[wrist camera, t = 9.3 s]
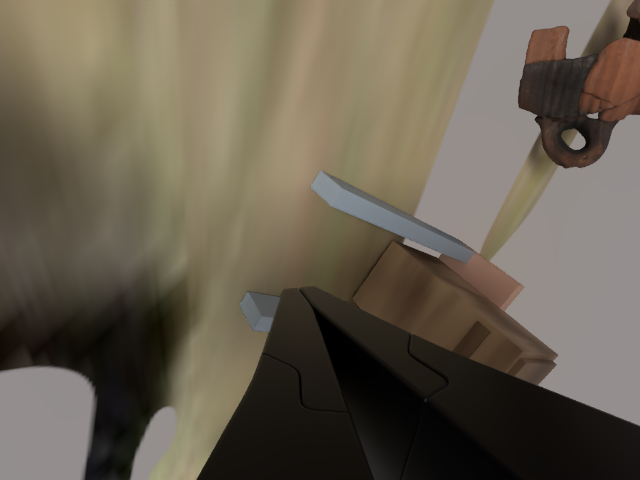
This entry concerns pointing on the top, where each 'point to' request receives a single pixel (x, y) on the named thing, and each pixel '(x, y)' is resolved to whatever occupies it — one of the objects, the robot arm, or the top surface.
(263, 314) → the blue-gray angular pronged part
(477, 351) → the crate
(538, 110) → the brown irregular pronged part
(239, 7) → the top surface
